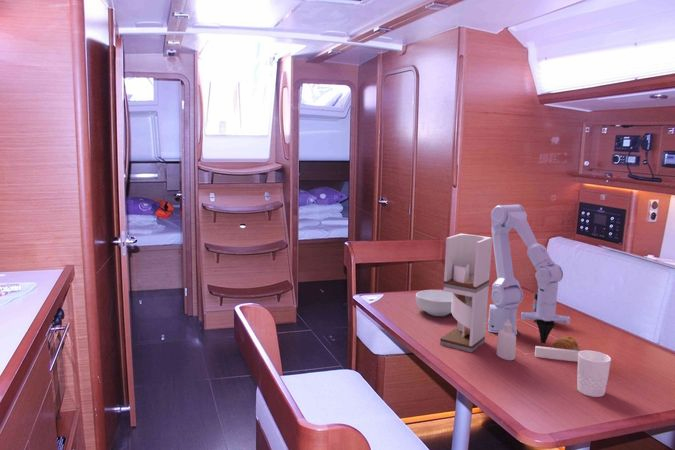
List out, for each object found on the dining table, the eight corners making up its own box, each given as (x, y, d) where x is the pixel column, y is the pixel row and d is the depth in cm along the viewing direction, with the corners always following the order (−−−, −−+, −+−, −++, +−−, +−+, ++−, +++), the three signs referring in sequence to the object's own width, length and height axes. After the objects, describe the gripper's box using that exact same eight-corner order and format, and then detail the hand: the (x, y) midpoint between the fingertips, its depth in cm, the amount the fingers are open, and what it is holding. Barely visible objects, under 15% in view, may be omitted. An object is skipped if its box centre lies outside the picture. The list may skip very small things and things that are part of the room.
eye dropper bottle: (508, 353, 169) (511, 316, 167) (515, 361, 164) (519, 323, 162) (495, 353, 169) (498, 316, 167) (501, 361, 163) (504, 323, 162)
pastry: (566, 357, 168) (567, 345, 168) (545, 350, 173) (546, 339, 173) (580, 350, 174) (581, 338, 174) (559, 344, 179) (560, 333, 179)
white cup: (569, 384, 149) (572, 350, 147) (596, 384, 149) (600, 350, 148) (584, 398, 141) (588, 362, 139) (613, 398, 142) (617, 362, 140)
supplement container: (538, 316, 206) (541, 290, 204) (555, 321, 201) (557, 294, 199) (528, 320, 202) (530, 293, 200) (544, 325, 197) (547, 297, 195)
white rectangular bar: (535, 356, 167) (536, 347, 167) (534, 355, 169) (535, 345, 168) (584, 362, 164) (585, 353, 164) (583, 360, 166) (584, 351, 165)
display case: (454, 334, 185) (460, 233, 179) (484, 341, 179) (492, 237, 173) (440, 344, 176) (446, 238, 170) (471, 352, 169) (479, 242, 164)
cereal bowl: (466, 311, 210) (467, 294, 209) (450, 323, 196) (451, 304, 195) (425, 303, 219) (426, 286, 218) (407, 314, 205) (408, 296, 204)
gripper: (523, 303, 171) (520, 344, 174) (573, 307, 168) (568, 349, 170) (522, 297, 178) (518, 336, 180) (569, 301, 175) (565, 341, 177)
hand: (542, 342), depth 176 cm, fingers closed
